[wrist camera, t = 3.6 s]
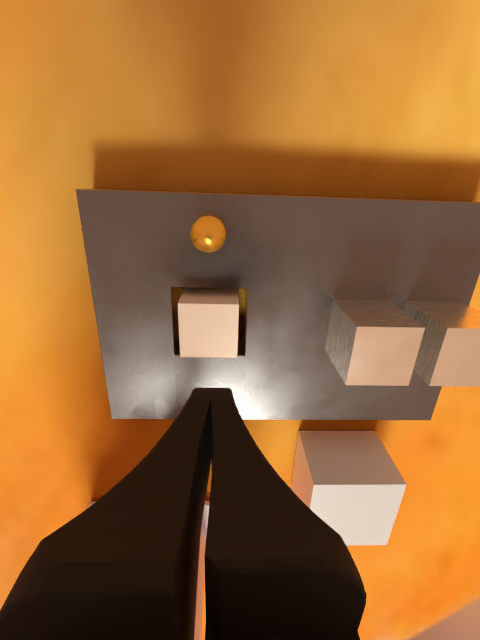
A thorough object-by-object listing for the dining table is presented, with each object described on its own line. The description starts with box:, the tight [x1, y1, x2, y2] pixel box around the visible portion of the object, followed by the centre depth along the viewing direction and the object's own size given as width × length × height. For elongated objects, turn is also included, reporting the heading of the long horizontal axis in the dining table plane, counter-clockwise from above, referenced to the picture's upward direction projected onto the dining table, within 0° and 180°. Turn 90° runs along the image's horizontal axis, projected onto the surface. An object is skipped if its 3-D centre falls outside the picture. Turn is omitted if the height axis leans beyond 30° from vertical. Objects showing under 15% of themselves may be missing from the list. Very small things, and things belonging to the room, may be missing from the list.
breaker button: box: [178, 287, 239, 358], centre depth 18 cm, size 3×3×3 cm
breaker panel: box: [76, 188, 480, 420], centre depth 17 cm, size 20×13×6 cm, turn 88°
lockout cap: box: [291, 431, 407, 545], centre depth 22 cm, size 6×6×4 cm
